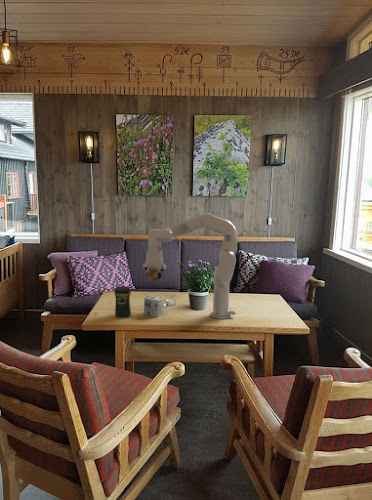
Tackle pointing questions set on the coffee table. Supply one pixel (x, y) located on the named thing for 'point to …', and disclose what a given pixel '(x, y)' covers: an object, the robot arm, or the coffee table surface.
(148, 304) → the light bulb box
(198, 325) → the coffee table surface
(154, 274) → the walnut cube
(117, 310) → the coffee jar
